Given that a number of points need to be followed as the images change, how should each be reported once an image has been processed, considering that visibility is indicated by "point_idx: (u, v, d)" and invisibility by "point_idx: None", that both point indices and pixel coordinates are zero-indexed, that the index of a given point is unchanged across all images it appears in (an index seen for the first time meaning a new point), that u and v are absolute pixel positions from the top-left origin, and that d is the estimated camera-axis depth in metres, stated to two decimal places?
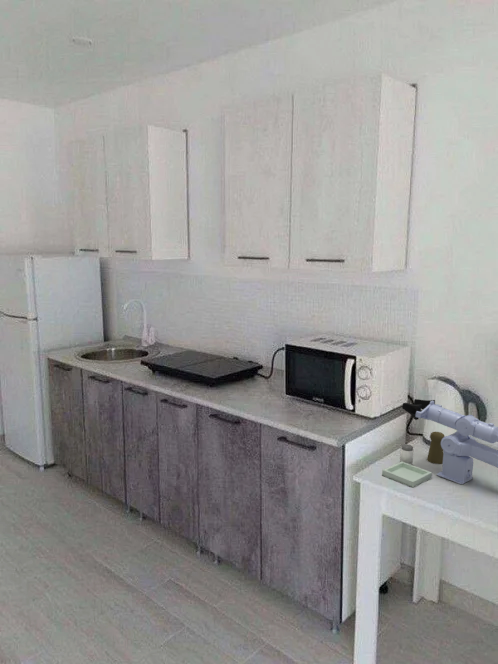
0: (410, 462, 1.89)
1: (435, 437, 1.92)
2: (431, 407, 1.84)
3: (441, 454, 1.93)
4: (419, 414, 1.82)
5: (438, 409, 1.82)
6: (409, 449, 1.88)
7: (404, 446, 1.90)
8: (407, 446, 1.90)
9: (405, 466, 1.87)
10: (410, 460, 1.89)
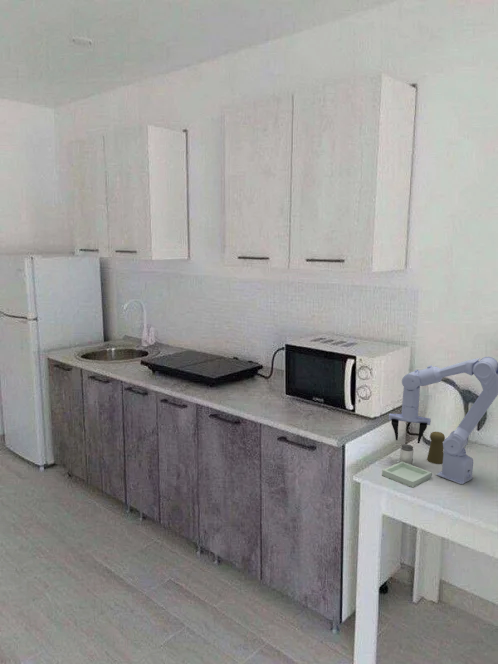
0: (410, 462, 1.89)
1: (435, 437, 1.92)
2: None
3: (441, 454, 1.93)
4: None
5: None
6: (409, 449, 1.88)
7: (404, 446, 1.90)
8: (407, 446, 1.90)
9: (405, 466, 1.87)
10: (410, 460, 1.89)
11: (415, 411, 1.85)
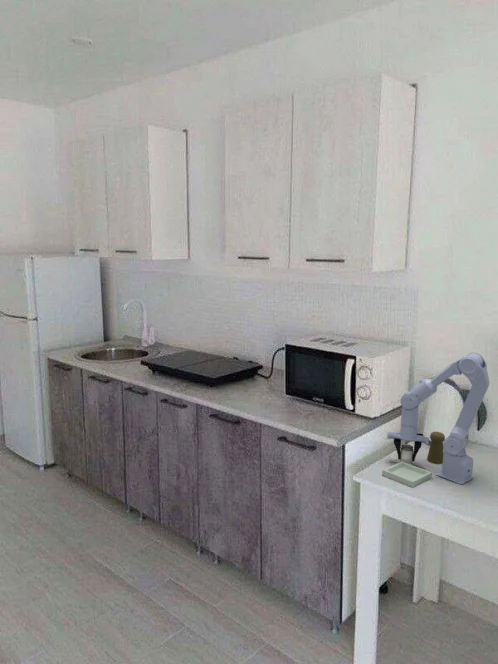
0: (410, 462, 1.89)
1: (435, 437, 1.92)
2: None
3: (441, 454, 1.93)
4: None
5: None
6: (409, 449, 1.88)
7: (404, 446, 1.90)
8: (407, 446, 1.90)
9: (405, 466, 1.87)
10: (410, 460, 1.89)
11: (414, 430, 1.87)
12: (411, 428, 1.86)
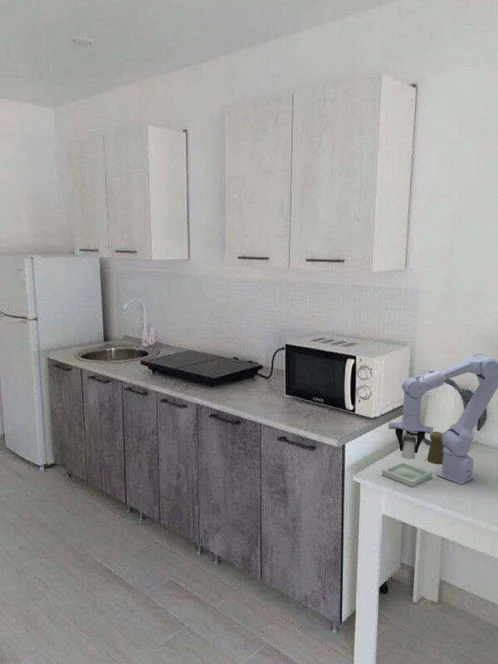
0: (413, 454, 1.78)
1: (435, 437, 1.92)
2: None
3: (441, 454, 1.93)
4: None
5: None
6: (412, 440, 1.77)
7: (406, 437, 1.79)
8: (409, 437, 1.79)
9: (405, 466, 1.87)
10: (413, 452, 1.78)
11: (416, 420, 1.75)
12: (414, 417, 1.75)
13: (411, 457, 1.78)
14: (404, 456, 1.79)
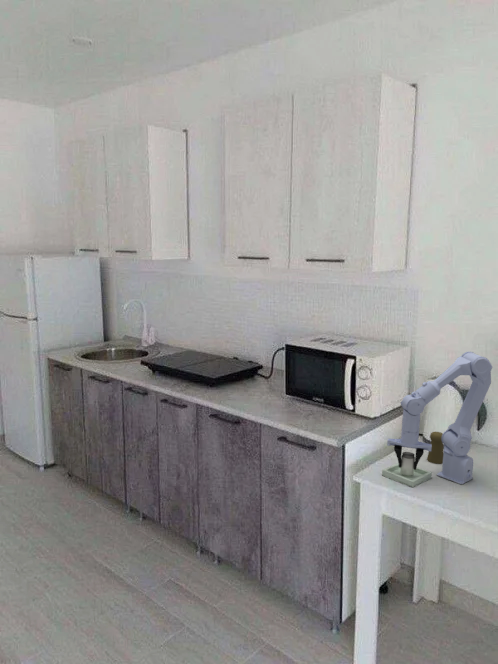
0: (411, 470, 1.79)
1: (435, 437, 1.92)
2: None
3: (441, 454, 1.93)
4: None
5: None
6: (410, 456, 1.78)
7: (405, 453, 1.80)
8: (408, 453, 1.80)
9: None
10: (411, 468, 1.79)
11: (415, 437, 1.76)
12: (412, 434, 1.76)
13: (410, 473, 1.79)
14: (403, 472, 1.80)
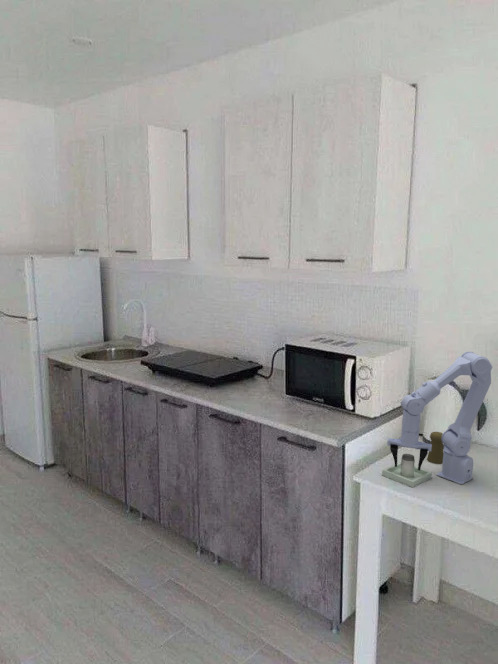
0: (411, 473, 1.79)
1: (435, 437, 1.92)
2: None
3: (441, 454, 1.93)
4: None
5: None
6: (410, 459, 1.78)
7: (405, 456, 1.80)
8: (408, 456, 1.80)
9: None
10: (411, 470, 1.79)
11: (415, 437, 1.76)
12: (412, 434, 1.76)
13: (410, 476, 1.79)
14: (403, 475, 1.80)
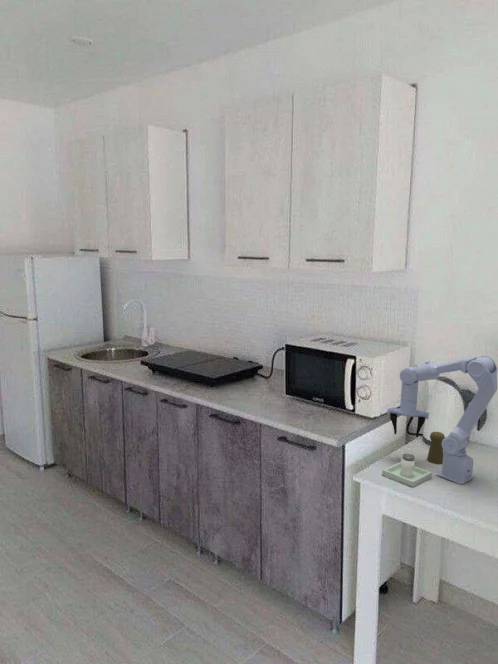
0: (411, 473, 1.79)
1: (435, 437, 1.92)
2: None
3: (441, 454, 1.93)
4: (387, 409, 1.94)
5: None
6: (410, 459, 1.78)
7: (405, 456, 1.80)
8: (408, 456, 1.80)
9: None
10: (411, 471, 1.79)
11: (413, 405, 1.88)
12: (411, 403, 1.88)
13: (410, 476, 1.79)
14: (403, 475, 1.80)
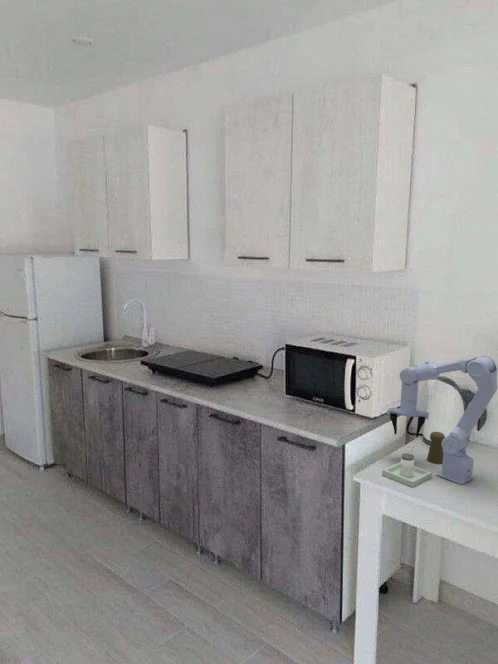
0: (411, 472, 1.79)
1: (435, 437, 1.92)
2: None
3: (441, 454, 1.93)
4: None
5: None
6: (409, 458, 1.78)
7: (404, 455, 1.80)
8: (407, 455, 1.80)
9: None
10: (411, 470, 1.79)
11: (413, 405, 1.88)
12: (411, 403, 1.88)
13: (409, 475, 1.79)
14: (402, 474, 1.80)
